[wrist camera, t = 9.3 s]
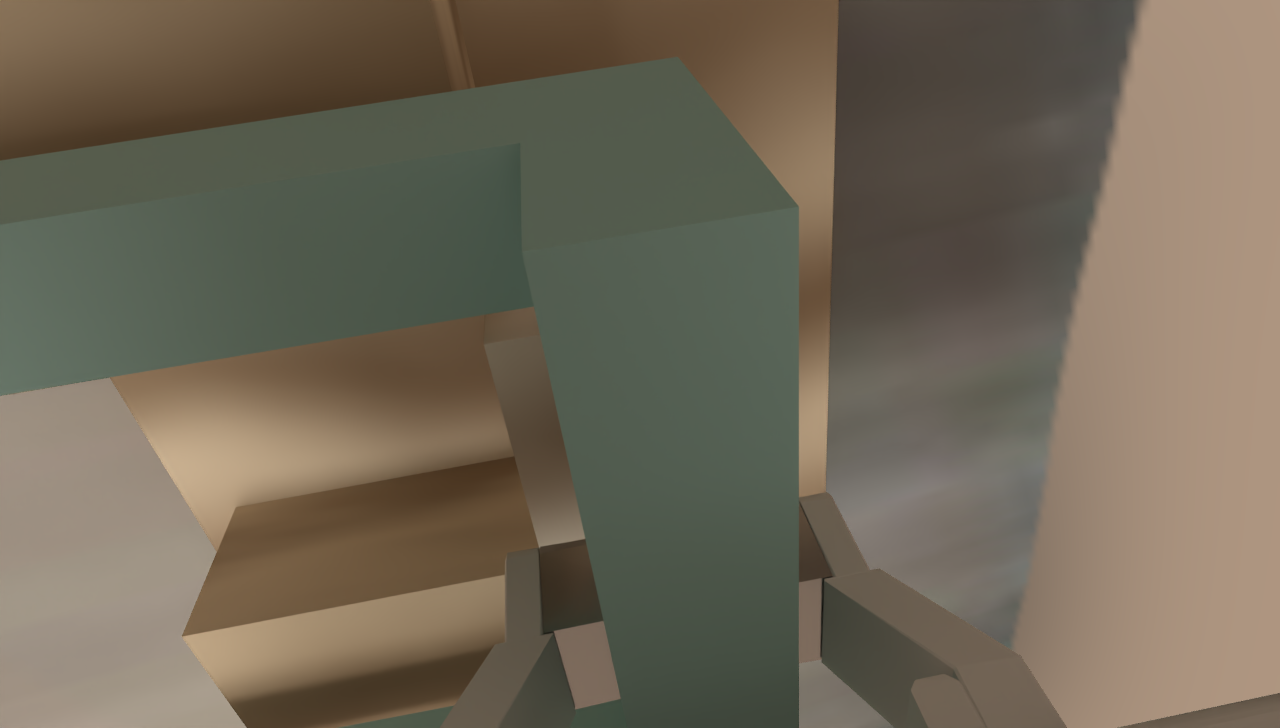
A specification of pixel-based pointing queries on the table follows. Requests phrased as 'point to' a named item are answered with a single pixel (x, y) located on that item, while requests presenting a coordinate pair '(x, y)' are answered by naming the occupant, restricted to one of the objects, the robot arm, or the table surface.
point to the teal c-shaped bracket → (478, 285)
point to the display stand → (403, 358)
